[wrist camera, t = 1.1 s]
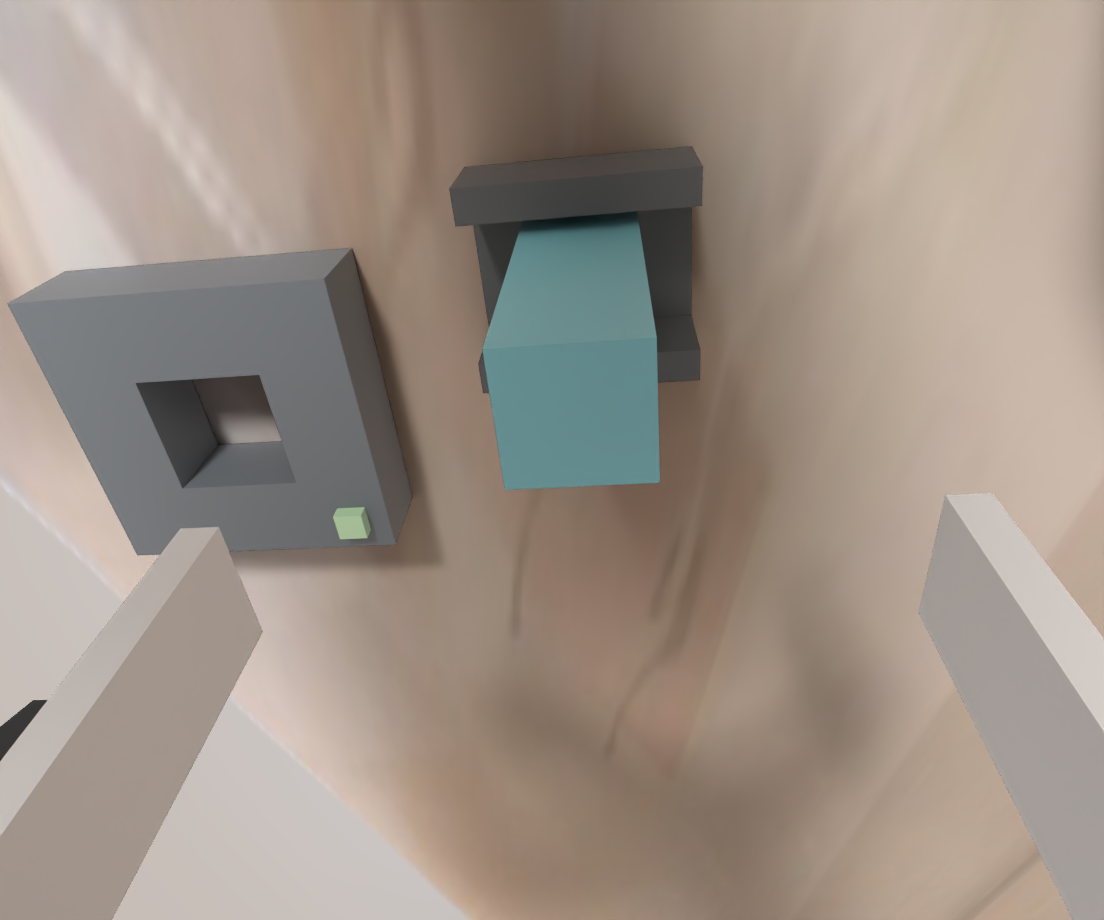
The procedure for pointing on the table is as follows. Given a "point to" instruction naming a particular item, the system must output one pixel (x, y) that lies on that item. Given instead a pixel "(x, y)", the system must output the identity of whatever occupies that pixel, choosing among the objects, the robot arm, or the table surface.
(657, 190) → the holster
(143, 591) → the robot arm
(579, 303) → the plug
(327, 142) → the table surface
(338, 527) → the port
